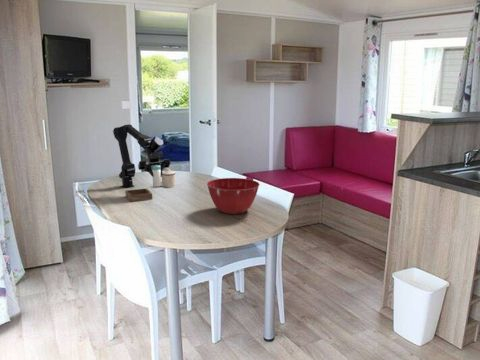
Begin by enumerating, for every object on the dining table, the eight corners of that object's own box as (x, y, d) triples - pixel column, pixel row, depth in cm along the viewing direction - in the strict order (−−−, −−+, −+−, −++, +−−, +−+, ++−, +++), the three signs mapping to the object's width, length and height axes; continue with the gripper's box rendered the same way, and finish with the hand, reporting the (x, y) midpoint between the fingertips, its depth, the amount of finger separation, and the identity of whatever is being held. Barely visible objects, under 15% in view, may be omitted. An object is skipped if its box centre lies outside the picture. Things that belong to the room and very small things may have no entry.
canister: (152, 184, 264) (151, 165, 262) (159, 184, 266) (159, 164, 264) (154, 187, 258) (154, 167, 256) (162, 186, 260) (162, 166, 258)
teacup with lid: (172, 183, 298) (172, 167, 296) (177, 186, 291) (176, 169, 288) (155, 185, 293) (155, 168, 290) (159, 188, 285) (159, 171, 282)
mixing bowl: (223, 200, 259) (223, 175, 256) (267, 207, 246) (268, 180, 243) (197, 213, 235) (196, 185, 231) (244, 221, 222) (244, 192, 219)
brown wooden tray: (125, 197, 263) (125, 190, 262) (147, 195, 269) (146, 188, 268) (130, 203, 252) (129, 195, 251) (152, 200, 257) (152, 193, 256)
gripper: (138, 147, 258) (143, 169, 250) (169, 145, 265) (175, 167, 258) (136, 158, 266) (140, 180, 259) (166, 156, 274) (171, 177, 267)
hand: (157, 176), depth 261 cm, fingers closed on canister, 5 cm apart
